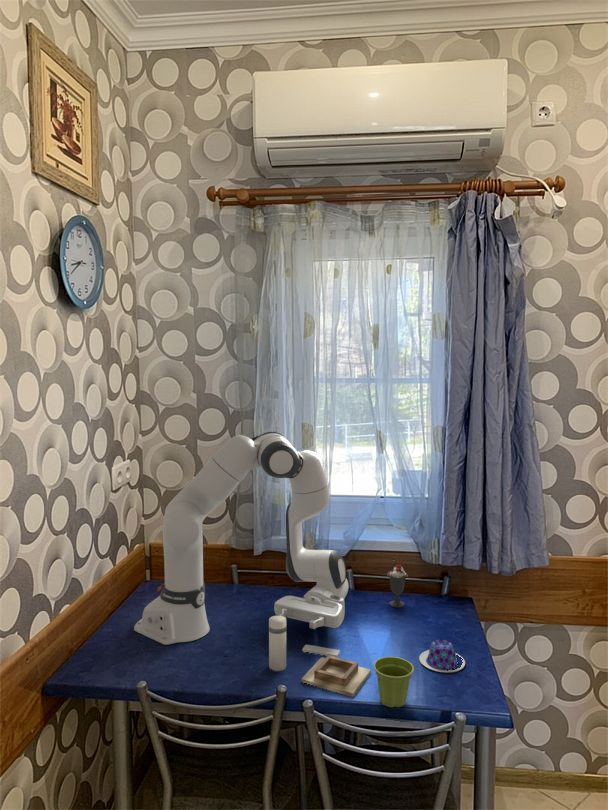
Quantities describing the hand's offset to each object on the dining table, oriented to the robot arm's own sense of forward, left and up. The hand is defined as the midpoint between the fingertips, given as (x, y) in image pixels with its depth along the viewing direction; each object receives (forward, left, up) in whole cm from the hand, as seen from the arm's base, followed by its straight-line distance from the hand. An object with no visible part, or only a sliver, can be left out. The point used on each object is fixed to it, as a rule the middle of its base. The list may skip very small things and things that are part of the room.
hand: (296, 622), depth 172 cm
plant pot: (+32, -12, -8) cm, 35 cm away
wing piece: (+7, +1, -8) cm, 11 cm away
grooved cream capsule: (0, -11, -8) cm, 13 cm away
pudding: (+38, +11, -8) cm, 40 cm away
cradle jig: (+16, -9, -8) cm, 20 cm away
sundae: (+16, +40, -8) cm, 44 cm away
